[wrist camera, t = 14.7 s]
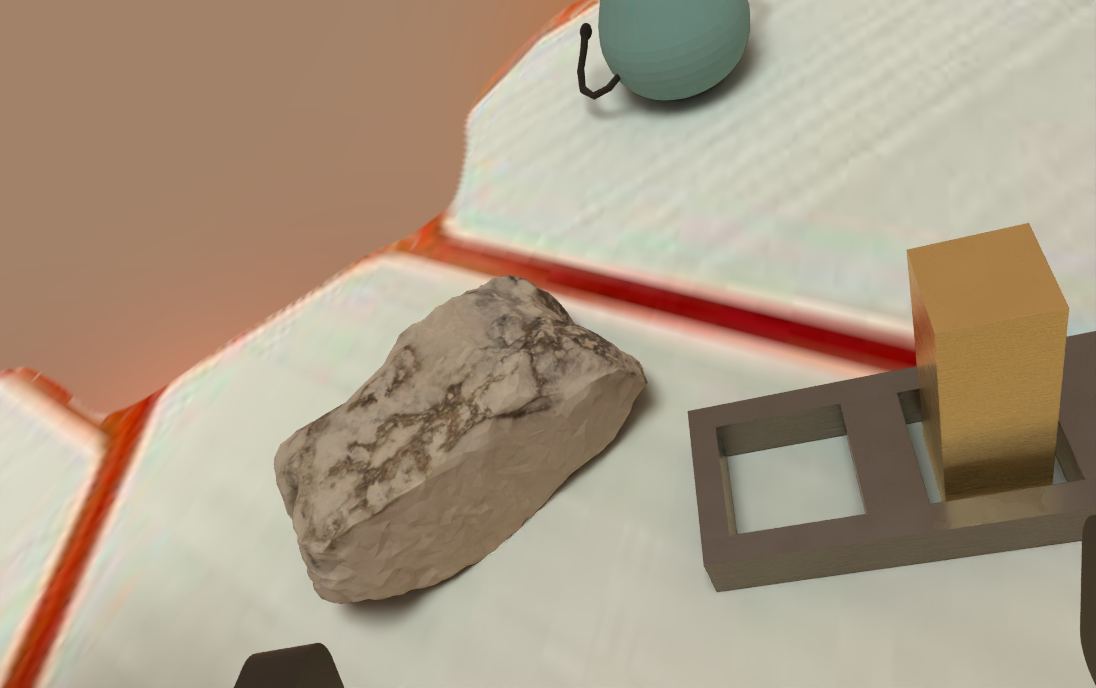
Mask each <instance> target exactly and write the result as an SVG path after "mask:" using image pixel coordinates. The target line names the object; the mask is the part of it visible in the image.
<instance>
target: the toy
mask: <svg viewBox="0 0 1096 688" xmlns="http://www.w3.org/2000/svg"><path fill="white" fill-rule="evenodd" d="M598 29H599V39H600V46H601V49H602V53H603V56H604V58H605V60H606V62H607V64H608V66H609V68H610V70H611V71H612V73H613V74H614V77H613V79H612V80H611V81H610V82H609V83H608V84H607V85H606V86H605V87H603V88H601V89H599V90H597V91H595V92H592V91H591V90H590V89H588V88H587V87H586V85H585V72H584V67H585V61H586V55H587V48H588V40H589V39H590V37H591V35H592V29H591V26H590V25H589V24H588V23H584V24H583V25H582V26H581V29H580V35H581V48H580V56H579V63H578V69H577V74H578V81H579V89H580V92H581V93H582V94H584V95H586V96H588V97H590V98H592V99H597V98H599V97H600V96H602V95H604V94H606V93H608V92H610V91H611V90H612V89H613V88H614V87H615V85H616V84H617V83H618V82H619V81H620V82H621V83H622V84H623V85H624V86H625V87H626V88H628V89H629V90H631V91H632V92H634V93H636V94H638V95H640V96H643V97H646V98H650V99H654V100H677V99H683V98H688V97H691V96H694V95H697V94H699V93H701V92H704V91H706V90H708V89H709V88H711V87H713V86H714V85H716V84H717V83H719V82H720V81H721V80H723V79H724V78H725V77H726V76H727V75H728V74H729V73H730V72H731V71H732V70H733V69H734V67H735V66H736V65H737V63H738V62H739V60H740V59H741V57H742V55H743V52H744V50H745V47H746V44H747V42H748V37H749V31H750V9H749V3H748V0H600V8H599V24H598Z"/></svg>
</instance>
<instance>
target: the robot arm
mask: <svg viewBox="0 0 1096 688" xmlns="http://www.w3.org/2000/svg"><path fill="white" fill-rule="evenodd" d="M1080 637H1081V644H1082V649H1083V653H1084V657H1085V660H1086V663H1087V666H1088V669H1089V671H1090V674H1091V676H1092V678H1093V680H1094V682H1095V685H1096V514H1095V515H1091V516H1089V517H1088V518H1087V519H1086V521H1085V523H1084V526H1083V533H1082V567H1081V612H1080ZM234 688H344V686H343V683H342V681H341V678H340V676H339V673H338V671H337V668H336V666H335V663H334V661H333V658H332V656H331V654H330V652H329V651H328V649H327V648H326V647H325V646H324V645H323V644H321V643H315V644H309V645H303V646H297V647H291V648H285V649H279V650H273V651H267V652H261V653H256V654H253V655H251V656H250V657H249V658H248V659H247V660H246V662H245V664H244V666H243V668H242V670H241V672H240V675H239V677H238V679H237V682H236V684H235V686H234Z"/></svg>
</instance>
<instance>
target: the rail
mask: <svg viewBox="0 0 1096 688" xmlns="http://www.w3.org/2000/svg"><path fill="white" fill-rule="evenodd" d="M688 419H689V428H690V438H691V447H692V457H693V466H694V476H695V485H696V495H697V504H698V514H699V523H700V533H701V542H702V552H703V561H704V567H705V569H706V571H707V573H708V575H709V577H710V579H711V581H712V583H713V585H714V587H715V589H716V592H719V591H726V590H733V589H740V588H748V587H755V586H762V585H769V584H776V583H783V582H790V581H797V580H804V579H811V578H818V577H826V576H833V575H840V574H847V573H854V572H861V571H868V570H875V569H882V568H889V567H896V566H903V565H911V564H918V563H925V562H932V561H939V560H946V559H953V558H960V557H967V556H974V555H981V554H989V553H996V552H1003V551H1010V550H1017V549H1024V548H1031V547H1038V546H1045V545H1052V544H1059V543H1067V542H1074V541H1081V540H1082V533H1083V526H1084V523H1085V521H1086V519H1087V518H1088V517H1089V516H1091V515H1095V514H1096V331H1094V332H1089V333H1084V334H1079V335H1073V336H1068V337H1066V346H1065V356H1064V366H1063V377H1062V387H1061V397H1060V408H1059V418H1058V428H1057V439H1056V449H1055V453H1056V456H1057V458H1058V460H1059V463H1060V465H1061V467H1062V470H1063V472H1064V475H1065V477H1066V479H1067V483H1061V484H1054V485H1048V486H1041V487H1035V488H1029V489H1022V490H1016V491H1010V492H1003V493H997V494H991V495H984V496H978V497H971V498H965V499H959V500H952V501H946V502H940V503H933V504H930V503H929V499H928V496H927V493H926V489H925V486H924V483H923V479H922V476H921V473H920V469H919V466H918V463H917V459H916V456H915V453H914V449H913V446H912V443H911V439H910V436H909V433H908V429H907V426H906V424H908V423H913V422H919V421H922V414H921V403H920V392H919V381H918V370H917V366H916V367H911V368H906V369H900V370H895V371H890V372H885V373H880V374H875V375H870V376H865V377H860V378H855V379H850V380H844V381H839V382H834V383H829V384H824V385H819V386H814V387H809V388H804V389H799V390H794V391H788V392H783V393H778V394H773V395H768V396H763V397H758V398H753V399H748V400H743V401H738V402H732V403H727V404H722V405H717V406H712V407H707V408H702V409H697V410H692V411H688ZM841 435H847V439H848V443H849V447H850V451H851V455H852V459H853V464H854V468H855V472H856V476H857V480H858V484H859V488H860V492H861V496H862V501H863V505H864V509H865V513H866V514H863V515H857V516H851V517H844V518H838V519H832V520H825V521H819V522H812V523H806V524H800V525H793V526H787V527H781V528H774V529H768V530H762V531H755V532H749V533H743V534H737V530H736V523H735V516H734V508H733V501H732V493H731V486H730V478H729V471H728V464H727V456H731V455H736V454H742V453H747V452H753V451H758V450H764V449H769V448H775V447H780V446H786V445H792V444H797V443H803V442H808V441H814V440H819V439H825V438H830V437H836V436H841Z"/></svg>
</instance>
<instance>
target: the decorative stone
mask: <svg viewBox="0 0 1096 688" xmlns="http://www.w3.org/2000/svg"><path fill="white" fill-rule="evenodd" d="M647 383H648V382H647V380H646V378H645V376H644V372H643V368H642V366H641V364H640V362H639V361H638V360H636V359H635V358H634V357H633V356H631V355H629V354H627V353H625V352H622V351H620V350H619V349H618V348H617V347H616V346H615V345H614V344H612V343H610V342H609V341H607V340H605V339H604V338H602V337H601V336H599V335H598V334H596V333H594V332H592V331H590V330H588V329H586V328H583V327H581V326H579V325H575V324H574V322H573V321H572V319H571V317H570V316H569V314H568V313H567V312H566V310H565V309H564V308H563V307H562V305H561V304H560V303H559V302H558V301H557V299H555V298H554V297H553V296H552V295H550V294H549V293H548V292H545V291H543V290H541V289H540V288H538V287H536V286H534V285H533V284H532V283H530V282H529V281H527V280H526V279H523V278H518V277H514V276H510V275H509V276H505V277H498V278H493V279H491V280H490V281H489V282H488V283H486V284H485V285H481V286H480V287H479V288H478V289H473V290H469V291H466V292H465V293H464V294H463V295H461V296H458V297H453V298H451V299H450V300H449V301H447V302H446V303H444V304H443V305H441V306H438V307H436V308H435V309H434V310H433V311H432V312H431V313H430V314H429V315H428V316H427V317H426V318H425V319H424V320H422V321H420V322H418V323H415V324H413V325H411V326H410V327H409V328H407V329H406V330H405V331H404V332H402V333H401V334H400V335H399V337H398V339H397V342H396V344H395V345H394V347H393V349H392V350H391V352H390V354H389V355H388V357H387V359H386V361H385V363H384V364H383V366H382V367H381V368H380V369H379V370H378V371H377V372H376V373H375V374H374V375H373V376H372V377H371V378H370V379H369V380H368V381H367V382H366V383H364V384H363V385H362V386H361V387H360V388H359V389H358V390H357V391H356V392H355V394H354V395H353V396H352V397H351V398H350V399H349V400H348V401H347V402H346V403H344V404H342V405H340V406H339V407H337V408H335V409H333V410H332V411H330V412H328V413H327V414H325V415H323V416H322V417H320V418H318V419H317V420H316V421H314V422H311V423H310V424H308V425H306V426H305V427H303V428H301V429H299V430H297V431H296V432H295V433H294V434H293V435H292V436H291V437H290V438H289V439H287V440H286V441H284V442H283V443H282V444H281V445H280V447H279V449H278V451H277V453H276V456H275V458H274V469H275V473H276V482H277V486H278V488H279V490H280V493H281V495H282V498H283V501H284V504H285V507H286V511H287V513H288V515H289V516H290V517H291V519H292V520H293V528H294V530H295V532H296V534H297V536H298V544H299V549H300V552H301V556H302V559H303V561H304V562H305V564H306V565H307V573H308V575H309V577H310V579H311V580H312V581H313V587H314V590H315V591H316V592H317V593H318V595H319V596H320V597H321V598H322V599H324V600H327V601H329V602H333V603H340V604H342V603H349V602H358V601H362V600H366V599H373V600H379V599H385V598H388V597H391V596H396V595H403V594H404V593H406V592H408V591H409V590H413V589H419V588H425V587H429V586H432V585H435V584H437V583H439V582H440V581H442V580H444V579H447V578H450V577H452V576H453V575H455V574H456V573H457V572H459V571H460V570H461V569H463V568H464V567H466V566H469V565H473V564H476V563H477V562H479V561H480V560H482V559H483V558H484V557H485V556H486V555H488V554H489V553H491V552H493V551H494V550H495V549H496V548H497V547H499V546H500V544H501V543H503V542H504V541H505V540H506V539H507V538H509V537H510V536H511V535H512V534H513V533H515V532H516V531H517V530H518V529H520V527H521V526H522V524H523V522H524V521H525V520H526V519H528V518H531V517H532V516H533V515H534V513H535V512H536V511H537V510H538V509H539V508H540V507H541V506H542V505H543V504H544V503H545V502H546V501H547V500H548V499H549V498H550V497H551V495H552V494H553V493H554V492H555V491H556V489H557V488H558V487H559V486H560V485H561V484H563V483H564V481H565V480H566V479H567V478H568V476H569V475H570V474H572V473H573V472H574V471H576V470H577V469H578V468H580V467H581V466H582V465H584V464H585V463H586V462H587V461H589V460H590V459H591V458H592V457H594V456H596V455H597V454H599V453H600V452H601V451H602V450H604V448H605V447H606V446H607V445H608V444H609V443H610V442H611V441H612V440H614V438H615V437H616V435H617V432H618V431H619V429H620V428H621V427H622V425H623V424H624V422H625V420H626V418H627V417H628V415H629V413H630V411H631V408H632V405H633V402H634V400H635V399H636V397H637V396H638V394H639V393H640V392H641V391H642V390H643V388H644V387H645V386H646V384H647Z"/></svg>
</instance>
